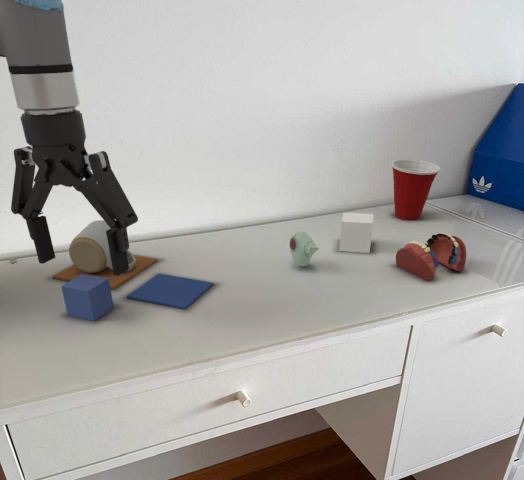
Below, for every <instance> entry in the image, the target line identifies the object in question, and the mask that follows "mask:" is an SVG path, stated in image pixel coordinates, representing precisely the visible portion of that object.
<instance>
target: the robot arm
mask: <svg viewBox="0 0 524 480" xmlns="http://www.w3.org/2000/svg"><path fill="white" fill-rule="evenodd" d="M64 10H65V7H64V4H63V1H62V0H0V58H5V59H6V60H5V61H6V63H7V66H8V67H7V68H8V73H9V76H10V80H11V84H12V88H13V89H12V90H13V94H14V98H15V101H16V107H17V108H18V109H19V110H22V111H23V113H22V114H21V116H20V122H21V126H22V130H23V135H24V139H25V142H26V143H27V144H28V145H27V146H22V147H18V148H15V149H14V150H13V157H14V162H15V169H14V170H15V171H14V177H13V187H12V195H11V204H10V211H11V213H12V214H13V215H19V216H21V217H22V219H23V220H25V224H26V226H27V230H28V233H29V237H30V239H31V240H32V241H33V244H34V248H35V252H36V256H37V260H38V263H39V264H43V265H44V264H46V263H48V262H50V261H52V260H54V259H56V253H55V249H54V244H53V241H52V237H51V233H50V229H49V224H48V221H47V220H48V219H47V215H43V214H44V212H43V211H42V210H43V209H44V207H45V205H46V203H47V200H48V197H49V196H50V193H51V191H52V189H53V187H54V186H57V187H58V186H63V187H66V188H72V187H73V189H75V190H76V191H77V192H80V193H81V194H82V195H83V197H84V198H85V200H87V201H88V203H89V204H90V205H91V206H92V208H93V209H94V210H95V212H96V213H97V214H98V215H99V216H100V218H101V219H102V221H105V222H106V223H107V224H108V226H109V227H110V229H109V230H107V231H106V234H107V240H108V245H109V251H110V256H111V262H112V267H113V273H114V275H116V276H119V275H120V274H122V273H124V272H125V271H127V270H128V269H129V264H128V258H127V252H126V250H128V251H129V249H130V242H129V236H128V228H129V227H130V226H132V225H134V224H136V223H137V222H139V217H138V215H137V213H136V211H135V210H134V207H133V206H132V204H131V202H130V200H129V198H128V197H127V195H126V193H125V191H124V190H123V188H122V186H121V184H120V181H119V180H118V178H117V177H116V175H115V173H114V171H113V169H112V166H111V162H110V158H109V155H108V153H107V152H106V151H105V150H101V151H98V152H94V153H88V152H87V150H86V147H85V146H86V145H85V142H86V139H87V134H86V133H87V132H86V129H85V123H84V117H83V113H82V112H81V110H78V109H77V107H79V106H80V98H79V97H80V96H79V92H78V91H79V90H78V86H77V81H76V76H75V71H74V65H73V61H72V56H71V50H70V45H69V37H68V31H67V25H66V17H65V11H64ZM36 167H37V168H38V170H37V172H36Z"/></svg>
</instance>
